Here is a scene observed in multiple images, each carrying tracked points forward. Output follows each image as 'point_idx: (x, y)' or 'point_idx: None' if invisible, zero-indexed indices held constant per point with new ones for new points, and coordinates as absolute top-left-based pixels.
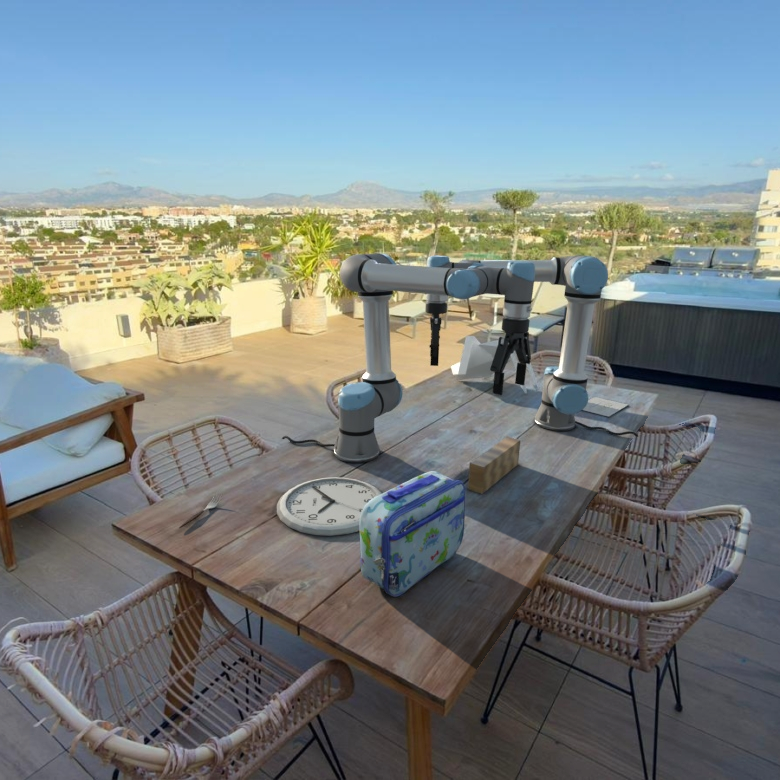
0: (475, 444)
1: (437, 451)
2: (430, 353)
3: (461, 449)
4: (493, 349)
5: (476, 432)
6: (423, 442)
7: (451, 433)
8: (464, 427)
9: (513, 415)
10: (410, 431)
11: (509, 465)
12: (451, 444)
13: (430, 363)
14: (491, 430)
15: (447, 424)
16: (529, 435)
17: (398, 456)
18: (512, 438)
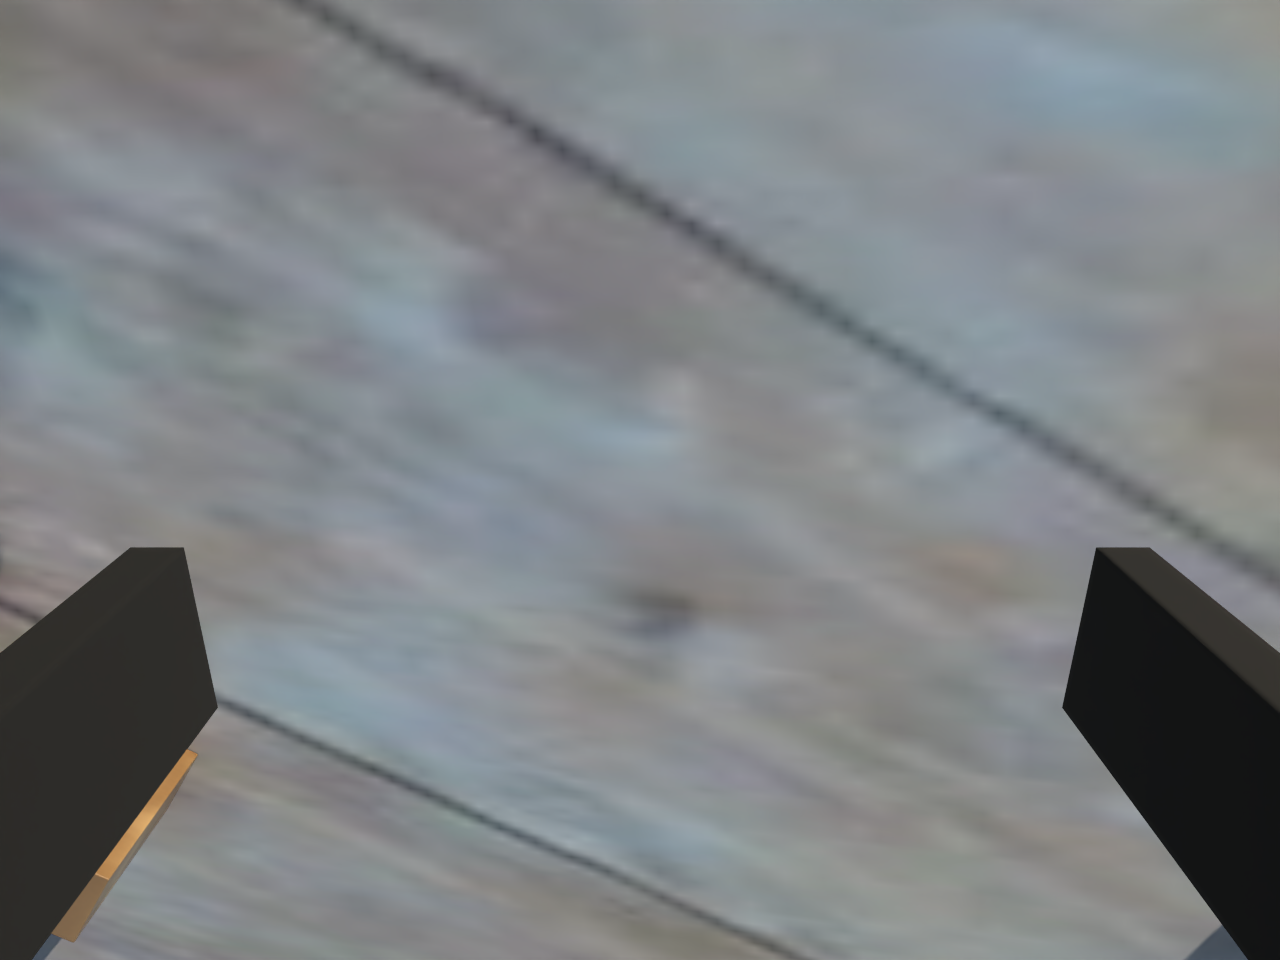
0: (417, 613)
1: (219, 347)
2: (1134, 590)
3: (303, 518)
4: None
5: (646, 637)
6: (371, 235)
7: (603, 463)
8: (741, 564)
9: (1000, 889)
10: (605, 108)
11: None
12: (380, 454)
13: (108, 572)
14: (696, 732)
15: (801, 440)
16: (631, 922)
17: (19, 16)
18: (83, 904)
